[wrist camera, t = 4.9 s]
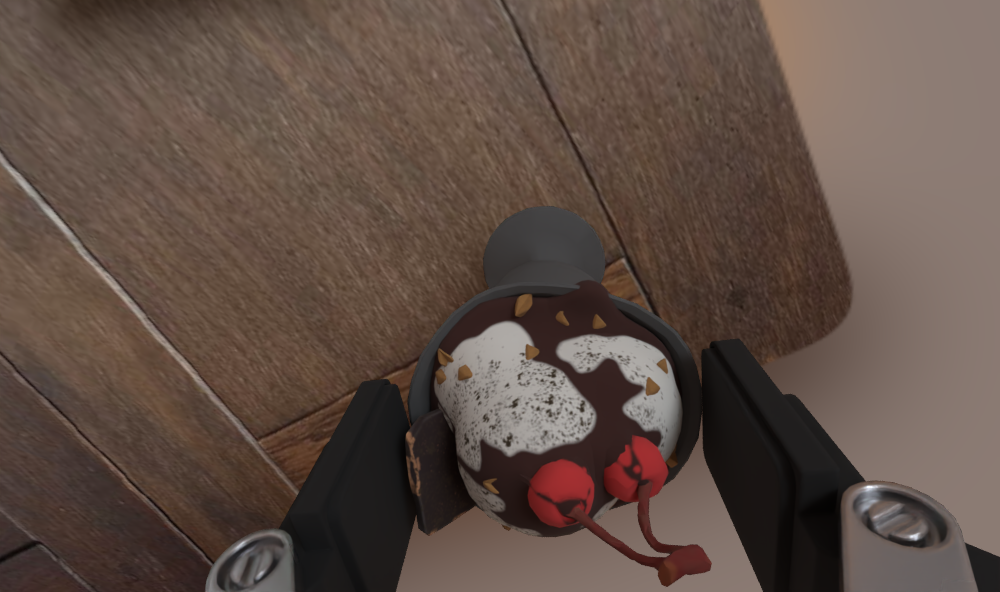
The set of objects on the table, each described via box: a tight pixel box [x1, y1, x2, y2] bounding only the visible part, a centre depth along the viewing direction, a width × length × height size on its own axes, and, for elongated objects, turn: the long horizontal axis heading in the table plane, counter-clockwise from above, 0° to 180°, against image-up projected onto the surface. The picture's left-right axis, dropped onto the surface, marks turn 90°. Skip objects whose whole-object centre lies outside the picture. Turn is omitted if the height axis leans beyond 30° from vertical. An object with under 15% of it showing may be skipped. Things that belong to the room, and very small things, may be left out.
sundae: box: [405, 206, 712, 587], centre depth 14 cm, size 7×7×15 cm
